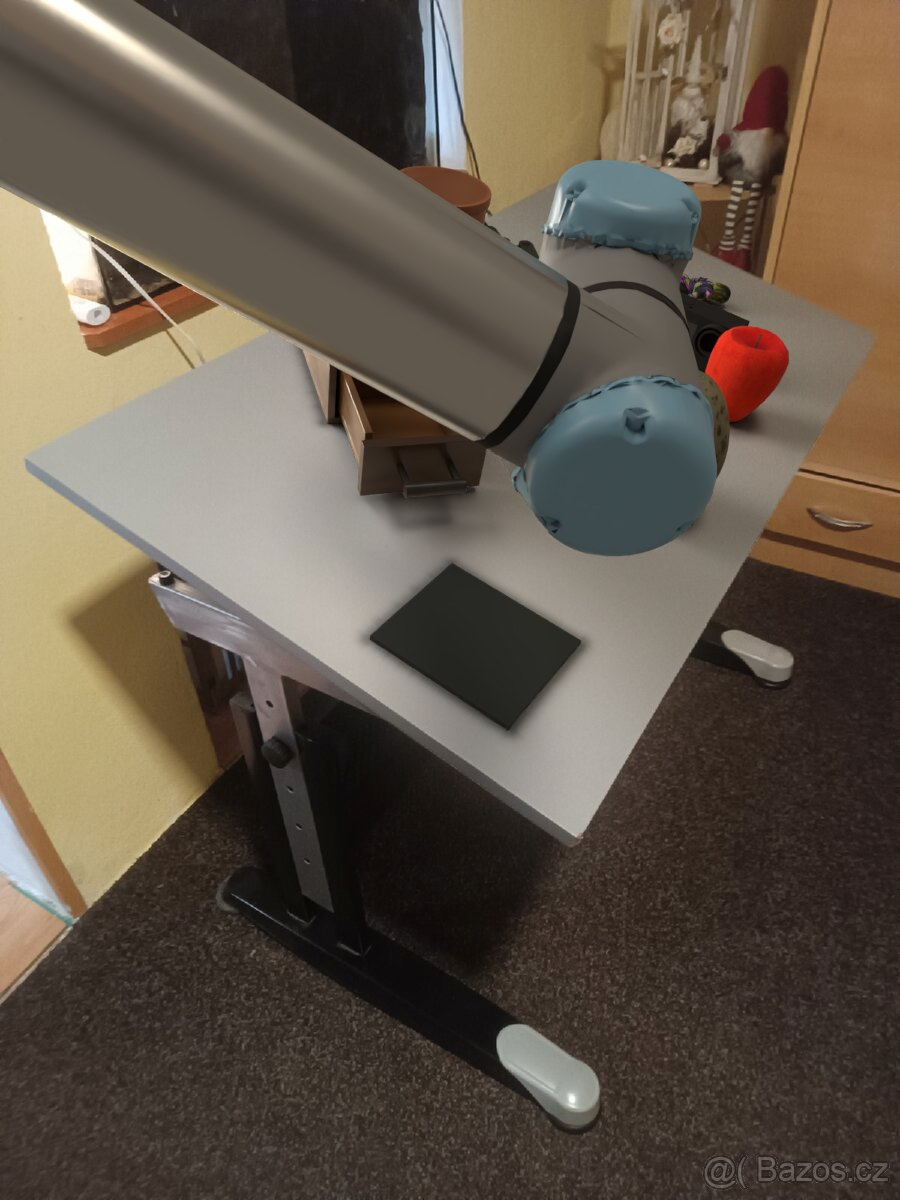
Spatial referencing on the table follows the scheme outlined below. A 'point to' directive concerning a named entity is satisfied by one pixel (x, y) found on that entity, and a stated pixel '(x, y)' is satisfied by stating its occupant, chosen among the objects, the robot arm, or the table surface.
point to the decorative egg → (717, 418)
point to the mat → (477, 644)
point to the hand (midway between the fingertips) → (419, 216)
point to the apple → (747, 367)
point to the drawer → (403, 445)
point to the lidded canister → (454, 188)
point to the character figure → (704, 289)
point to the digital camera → (707, 326)
